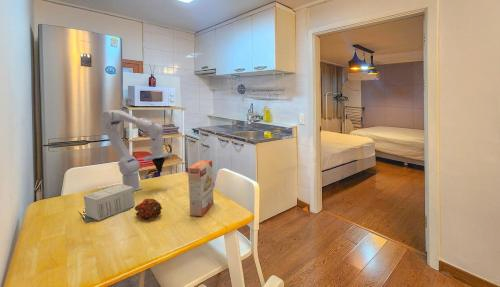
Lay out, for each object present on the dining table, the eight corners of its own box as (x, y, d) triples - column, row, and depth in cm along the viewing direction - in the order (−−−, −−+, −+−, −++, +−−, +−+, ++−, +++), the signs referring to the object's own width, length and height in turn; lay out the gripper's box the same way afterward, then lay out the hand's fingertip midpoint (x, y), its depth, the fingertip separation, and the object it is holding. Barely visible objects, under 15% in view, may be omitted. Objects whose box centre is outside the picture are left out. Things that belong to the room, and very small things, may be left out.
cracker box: (203, 217, 104) (200, 168, 101) (189, 216, 106) (186, 167, 102) (214, 203, 118) (212, 159, 114) (202, 202, 119) (200, 159, 115)
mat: (78, 210, 113) (78, 210, 113) (119, 200, 124) (119, 199, 124) (86, 223, 101) (85, 222, 101) (130, 209, 113) (130, 209, 113)
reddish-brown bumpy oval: (162, 223, 104) (138, 224, 107) (169, 204, 109) (145, 206, 113) (151, 212, 98) (125, 214, 101) (159, 193, 104) (134, 195, 107)
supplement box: (122, 202, 121) (85, 216, 107) (120, 183, 119) (82, 195, 105) (135, 206, 116) (98, 221, 102) (133, 186, 115) (95, 199, 100)
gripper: (146, 150, 124) (148, 176, 126) (173, 145, 133) (175, 170, 136) (140, 148, 129) (143, 173, 131) (167, 144, 138) (169, 168, 141)
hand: (159, 172), depth 134 cm, fingers closed
